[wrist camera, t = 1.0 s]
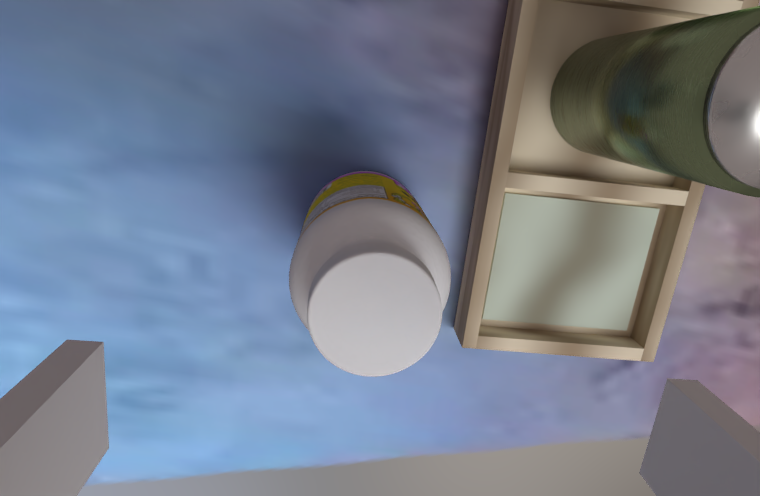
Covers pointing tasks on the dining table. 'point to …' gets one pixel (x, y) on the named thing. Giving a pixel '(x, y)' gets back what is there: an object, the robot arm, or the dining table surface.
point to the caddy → (571, 203)
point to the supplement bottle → (369, 275)
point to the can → (670, 99)
